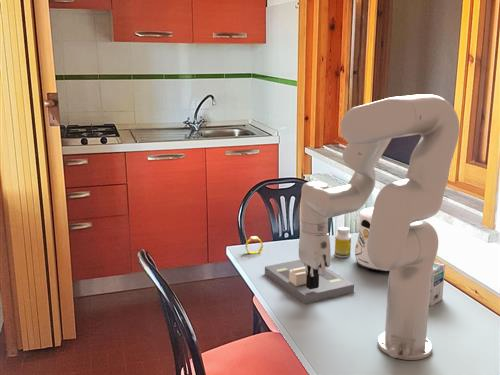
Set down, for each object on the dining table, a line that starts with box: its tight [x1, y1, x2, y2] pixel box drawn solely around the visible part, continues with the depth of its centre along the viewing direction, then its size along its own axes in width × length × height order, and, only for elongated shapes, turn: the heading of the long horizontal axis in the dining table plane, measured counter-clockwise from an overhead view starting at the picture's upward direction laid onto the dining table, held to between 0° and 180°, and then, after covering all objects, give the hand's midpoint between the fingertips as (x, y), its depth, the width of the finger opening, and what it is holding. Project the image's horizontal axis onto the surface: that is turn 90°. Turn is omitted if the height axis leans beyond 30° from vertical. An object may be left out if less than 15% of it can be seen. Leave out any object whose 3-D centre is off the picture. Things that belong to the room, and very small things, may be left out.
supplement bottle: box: [334, 226, 352, 259], centre depth 193 cm, size 5×5×10 cm
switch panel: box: [264, 259, 355, 305], centre depth 171 cm, size 24×17×2 cm
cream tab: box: [289, 267, 307, 286], centre depth 165 cm, size 4×5×4 cm
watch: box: [245, 235, 264, 255], centre depth 196 cm, size 6×3×6 cm, turn 102°
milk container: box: [354, 206, 385, 272], centre depth 183 cm, size 17×17×18 cm
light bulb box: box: [429, 261, 446, 306], centre depth 160 cm, size 11×7×11 cm, turn 47°
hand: (312, 287), depth 160 cm, fingers closed
